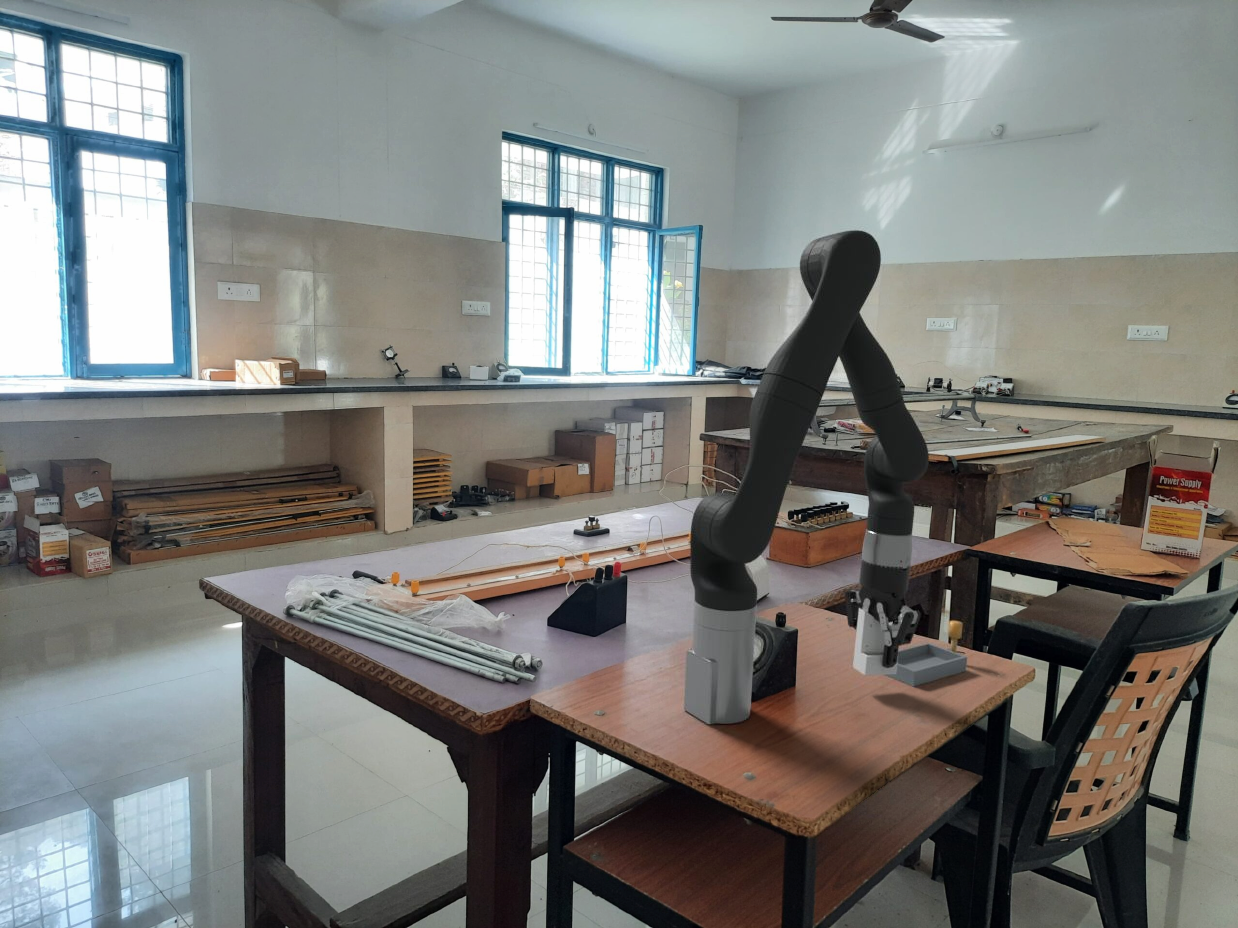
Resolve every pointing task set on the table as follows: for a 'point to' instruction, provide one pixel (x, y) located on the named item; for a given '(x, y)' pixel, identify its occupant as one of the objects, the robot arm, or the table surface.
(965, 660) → the shallow grey tray
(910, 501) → the robot arm
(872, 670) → the white angled block
